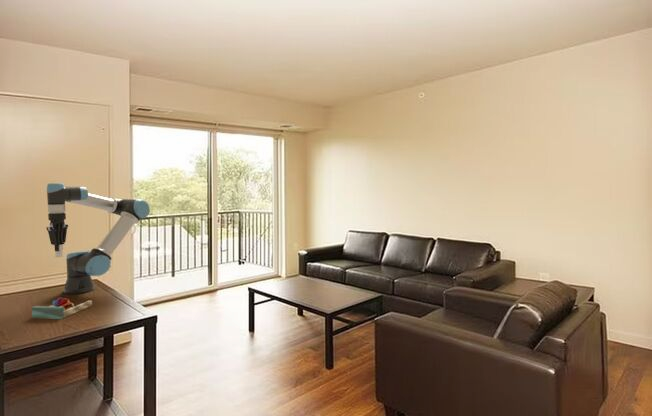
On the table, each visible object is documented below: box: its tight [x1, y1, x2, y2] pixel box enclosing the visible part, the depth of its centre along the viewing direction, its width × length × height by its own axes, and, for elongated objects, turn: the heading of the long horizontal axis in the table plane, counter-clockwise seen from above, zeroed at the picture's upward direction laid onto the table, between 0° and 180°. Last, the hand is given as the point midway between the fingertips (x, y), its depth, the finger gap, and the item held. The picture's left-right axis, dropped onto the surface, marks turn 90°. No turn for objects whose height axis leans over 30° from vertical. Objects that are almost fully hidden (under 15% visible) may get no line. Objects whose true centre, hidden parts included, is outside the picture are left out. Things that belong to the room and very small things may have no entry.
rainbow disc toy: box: [50, 297, 75, 311], centre depth 187 cm, size 8×10×7 cm
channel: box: [31, 299, 93, 320], centre depth 189 cm, size 21×14×5 cm
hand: (59, 256), depth 203 cm, fingers closed
